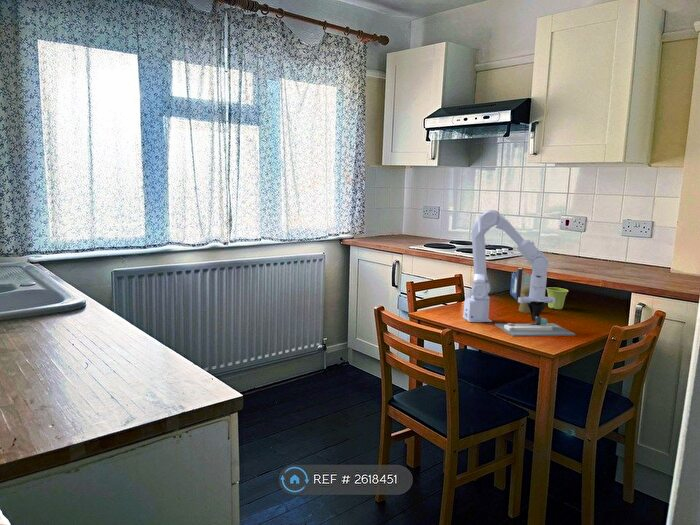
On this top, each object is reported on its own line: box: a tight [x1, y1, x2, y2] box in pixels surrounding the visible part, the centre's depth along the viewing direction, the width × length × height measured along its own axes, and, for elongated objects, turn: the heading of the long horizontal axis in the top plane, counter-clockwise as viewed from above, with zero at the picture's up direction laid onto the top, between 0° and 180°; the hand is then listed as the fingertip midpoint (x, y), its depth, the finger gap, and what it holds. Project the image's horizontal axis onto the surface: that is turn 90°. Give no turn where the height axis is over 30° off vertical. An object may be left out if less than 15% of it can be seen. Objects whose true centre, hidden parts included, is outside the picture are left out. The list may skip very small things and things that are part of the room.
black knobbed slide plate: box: [512, 315, 550, 326], centre depth 199 cm, size 14×2×4 cm, turn 100°
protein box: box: [509, 268, 531, 301], centre depth 259 cm, size 10×15×16 cm
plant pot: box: [546, 286, 569, 310], centre depth 239 cm, size 9×9×9 cm
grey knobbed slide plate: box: [494, 322, 577, 337], centre depth 199 cm, size 25×15×2 cm, turn 100°
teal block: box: [541, 317, 548, 324], centre depth 203 cm, size 3×2×3 cm
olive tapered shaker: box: [518, 286, 531, 314], centre depth 230 cm, size 6×6×11 cm
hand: (534, 321), depth 204 cm, fingers closed
